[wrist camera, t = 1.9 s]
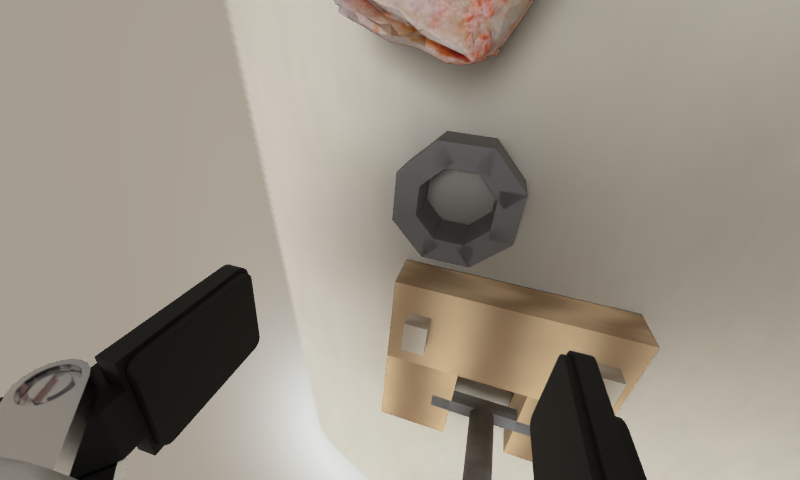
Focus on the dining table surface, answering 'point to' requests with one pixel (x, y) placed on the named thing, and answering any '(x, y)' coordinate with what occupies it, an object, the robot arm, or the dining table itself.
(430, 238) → the faceted grey ring
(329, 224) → the dining table surface
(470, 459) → the toggle switch panel
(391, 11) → the food item
